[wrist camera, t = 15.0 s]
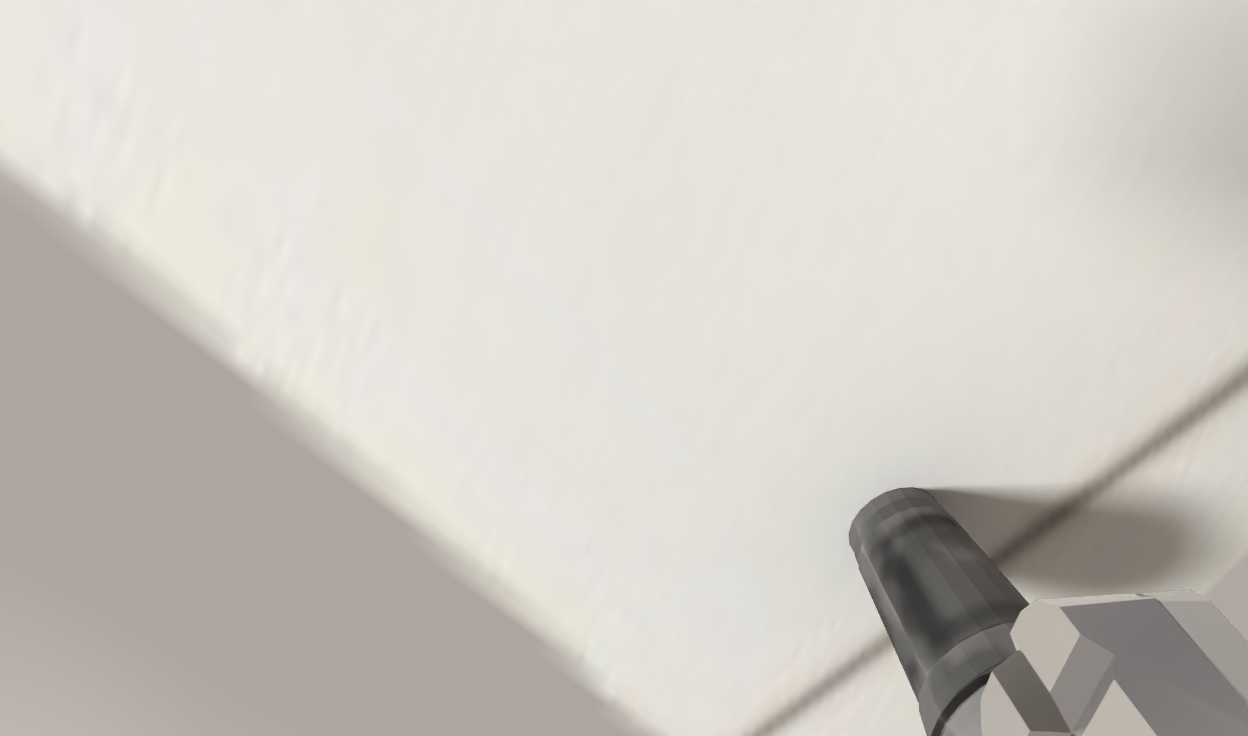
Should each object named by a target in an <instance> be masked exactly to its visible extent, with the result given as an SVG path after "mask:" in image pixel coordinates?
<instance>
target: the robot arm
mask: <svg viewBox="0 0 1248 736" xmlns="http://www.w3.org/2000/svg"><path fill="white" fill-rule="evenodd" d="M1010 635H1011V638H1012V640H1013V643H1014V645H1015V648H1016V652H1014V653H1013V654H1012V655H1011V656H1010V657H1008V658H1007V659H1006V660H1005V661H1004V662H1002V663H1001V664H1000V665H999V666H997V667H996V668H995V669H994V670H993V671H992V672H991V675H990V677H989V680H988V682H987V685H986V687H985V689H984V692H983V694H982V697H981V699H980V703H981V732H982V735H983V736H1248V641H1247V640H1246V639H1245V638H1244V637H1243V636H1242V635H1241V634H1240V633H1239V631H1237V629H1236V628H1235V627H1234V626H1233V625H1232V624H1231V623H1230V622H1229V620H1228V619H1227V618H1226V617H1225V616H1224V615H1223V614H1222V613H1221V612H1220V611H1219V609H1218V608H1217V607H1216V606H1215V605H1214V604H1213V603H1212V602H1211V601H1210V600H1208V599H1206V598H1205V597H1203V596H1201V595H1199V594H1197V593H1196V592H1194V591H1192V590H1180V591H1164V592H1149V593H1139V594H1135V595H1134V594H1114V595H1099V596H1084V597H1069V598H1054V599H1039V600H1035V601H1034V602H1032V603H1031V604H1030V605H1028V606H1027V607H1026V608H1024V609H1023V610H1022V611H1021V612H1020V614H1019V616H1018V618H1017V620H1016V622H1015V624H1014V626H1013V628H1012V630H1011V632H1010Z"/></svg>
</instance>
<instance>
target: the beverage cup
mask: <svg viewBox="0 0 1248 736" xmlns="http://www.w3.org/2000/svg"><path fill="white" fill-rule="evenodd" d="M849 542H850V546H851V547H852V549H853V551H854V552H855V557H856V559H857V562H858V564H859V570H860V572H861V574H862V577H863V579H864V581H865V583H866V586H867V588H868V590H869V592H870V595H871V597H872V599H873V601H874V604H875V606H876V608H877V610H878V613H879V615H880V617H881V619H882V621H883V624H884V626H885V628H886V630H887V633H888V635H889V637H890V639H891V642H892V644H893V646H894V648H895V651H896V653H897V655H898V657H899V660H900V662H901V664H902V666H903V669H904V671H905V673H906V675H907V678H908V680H909V682H910V684H911V687H912V689H913V691H914V693H915V695H916V698H917V700H918V702H919V712H920V715H921V718H922V721H923V725H924V728H925V731H926V734H927V736H983V735H982V732H981V703H980V699H981V697H982V694H983V692H984V689H985V687H986V685H987V682H988V680H989V677H990V675H991V672H992V671H993V670H994V669H995V668H996V667H997V666H999V665H1000V664H1001V663H1002V662H1004V661H1005V660H1006V659H1007V658H1008V657H1010V656H1011V655H1012V654H1013V653H1014V652H1016V648H1015V645H1014V643H1013V640H1012V638H1011V635H1010V632H1011V630H1012V628H1013V626H1014V624H1015V622H1016V620H1017V618H1018V616H1019V614H1020V612H1021V611H1022V610H1023V609H1024V608H1026V607H1027V606H1028V605H1030V604H1029V603H1028V602H1027V601H1026V600H1025V599H1024V597H1023V596H1022V595H1021V594H1020V593H1019V592H1018V591H1017V589H1016V588H1015V587H1014V586H1013V585H1012V584H1011V583H1010V582H1009V580H1008V579H1007V578H1006V577H1005V576H1004V575H1003V574H1002V572H1001V571H1000V570H999V569H998V568H997V567H996V566H995V564H994V563H993V562H992V561H991V560H990V559H989V558H988V557H987V555H986V554H985V553H984V552H983V551H982V550H981V549H980V547H979V546H978V545H977V544H976V543H975V542H974V541H973V540H972V538H971V537H970V536H969V535H968V534H967V533H966V532H965V530H964V529H963V528H962V527H961V526H960V525H959V524H958V522H957V521H956V520H955V519H954V518H953V517H952V516H951V515H950V514H948V513H947V512H946V511H945V510H944V509H943V508H942V507H941V506H940V505H938V503H937V502H936V500H935V499H934V498H933V497H932V496H931V495H930V494H928V493H927V492H926V491H923V490H919V489H916V488H900V489H896V490H893V491H890V492H886V493H884V494H882V495H880V496H879V497H877V498H875V499H873V500H871V501H870V502H869V503H868V504H867V505H866V506H865V507H864V508H862V509H861V510H860V512H859V513H858V515H857V516H856V517H855V519H854V520H853V522H852V525H851V528H850V531H849Z"/></svg>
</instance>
